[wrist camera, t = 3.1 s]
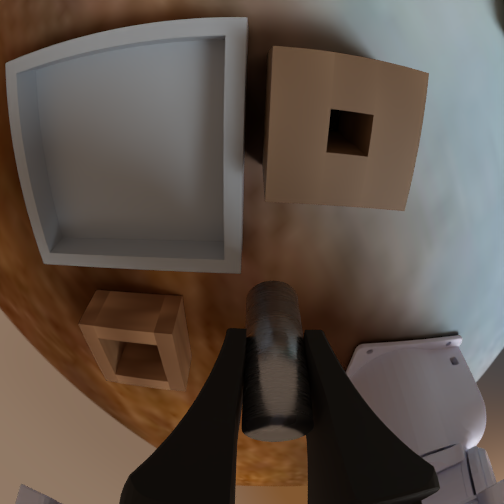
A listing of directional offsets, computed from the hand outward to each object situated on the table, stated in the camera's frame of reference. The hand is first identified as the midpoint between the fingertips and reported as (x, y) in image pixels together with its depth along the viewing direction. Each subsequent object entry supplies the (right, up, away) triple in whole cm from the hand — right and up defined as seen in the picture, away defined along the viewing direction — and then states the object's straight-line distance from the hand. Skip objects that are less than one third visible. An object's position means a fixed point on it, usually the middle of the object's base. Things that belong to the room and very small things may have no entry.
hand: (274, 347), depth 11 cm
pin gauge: (0, +2, +2) cm, 2 cm away
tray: (-6, +8, +1) cm, 11 cm away
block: (+2, +9, +1) cm, 10 cm away
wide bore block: (-8, -1, +8) cm, 11 cm away
